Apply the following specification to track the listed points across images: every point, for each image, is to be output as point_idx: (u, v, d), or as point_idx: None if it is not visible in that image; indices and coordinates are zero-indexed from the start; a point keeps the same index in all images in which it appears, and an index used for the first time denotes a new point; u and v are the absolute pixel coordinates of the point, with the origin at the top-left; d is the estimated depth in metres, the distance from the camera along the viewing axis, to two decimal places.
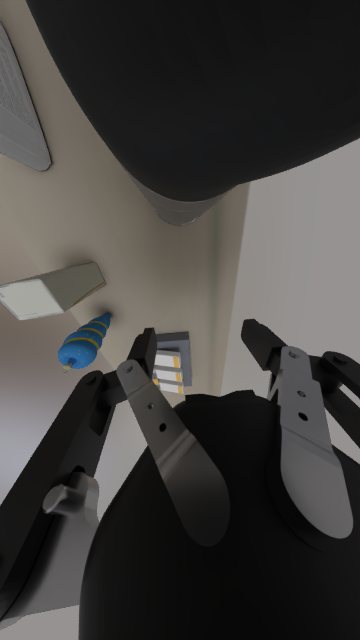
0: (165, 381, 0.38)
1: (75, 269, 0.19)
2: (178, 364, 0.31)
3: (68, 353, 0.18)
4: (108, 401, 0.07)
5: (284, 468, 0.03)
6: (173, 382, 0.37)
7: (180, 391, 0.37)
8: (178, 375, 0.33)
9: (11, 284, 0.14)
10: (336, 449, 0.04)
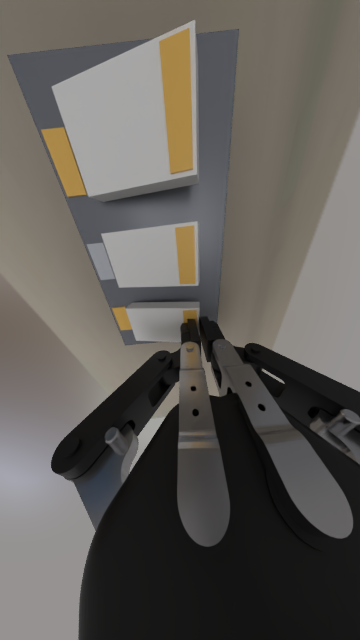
0: (145, 305, 0.13)
1: None
2: (190, 131, 0.06)
3: None
4: (174, 377, 0.08)
5: (284, 468, 0.03)
6: (169, 305, 0.12)
7: None
8: (187, 240, 0.08)
9: None
10: (336, 449, 0.04)
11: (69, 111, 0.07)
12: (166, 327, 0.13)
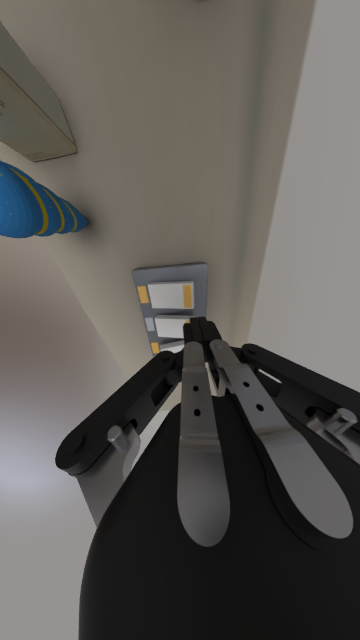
0: (169, 345, 0.25)
1: None
2: (191, 300, 0.20)
3: None
4: (177, 377, 0.08)
5: (284, 468, 0.03)
6: (181, 342, 0.26)
7: None
8: None
9: None
10: (336, 449, 0.04)
11: (151, 289, 0.20)
12: None
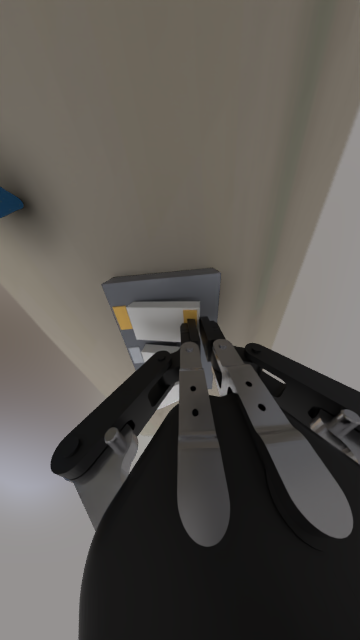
0: None
1: None
2: None
3: None
4: (174, 377, 0.08)
5: (284, 468, 0.03)
6: None
7: None
8: None
9: None
10: (336, 449, 0.04)
11: (133, 315, 0.13)
12: None
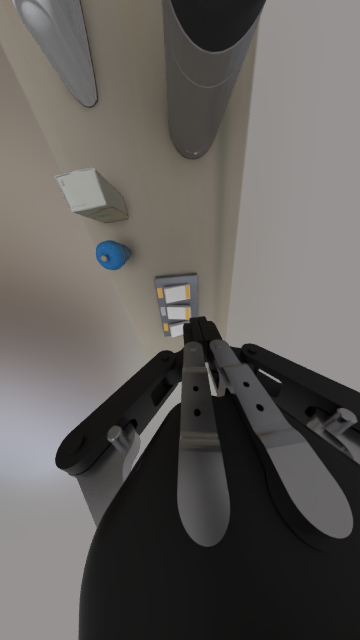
0: (175, 324, 0.41)
1: None
2: (189, 294, 0.36)
3: (105, 247, 0.23)
4: (177, 377, 0.08)
5: (284, 468, 0.03)
6: (182, 322, 0.41)
7: None
8: (187, 310, 0.37)
9: (72, 172, 0.19)
10: (336, 449, 0.04)
11: (167, 291, 0.34)
12: (182, 329, 0.42)
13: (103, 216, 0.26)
